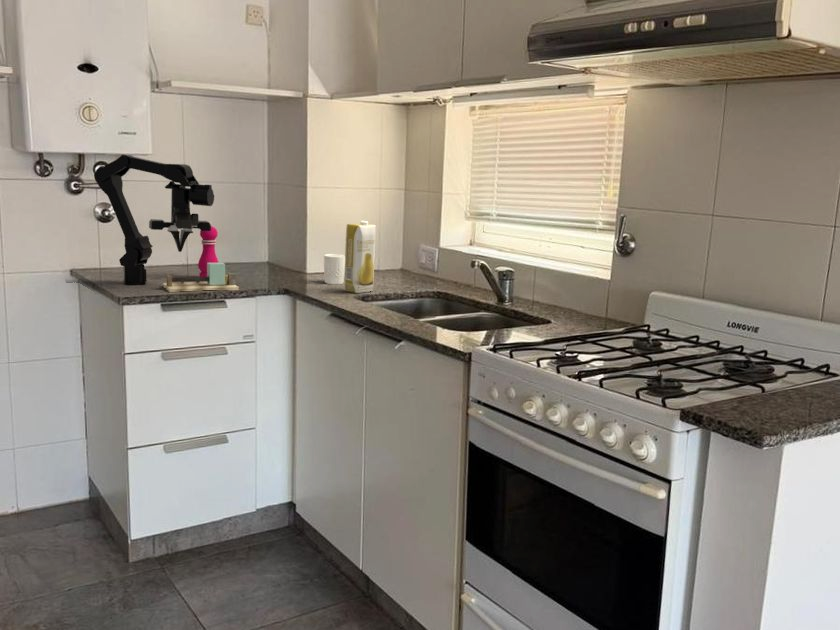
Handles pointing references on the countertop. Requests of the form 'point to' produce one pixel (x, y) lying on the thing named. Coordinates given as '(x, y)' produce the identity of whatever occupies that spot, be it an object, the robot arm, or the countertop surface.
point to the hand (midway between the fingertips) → (179, 251)
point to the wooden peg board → (198, 284)
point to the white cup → (334, 268)
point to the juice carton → (359, 257)
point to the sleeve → (216, 273)
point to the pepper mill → (207, 250)
